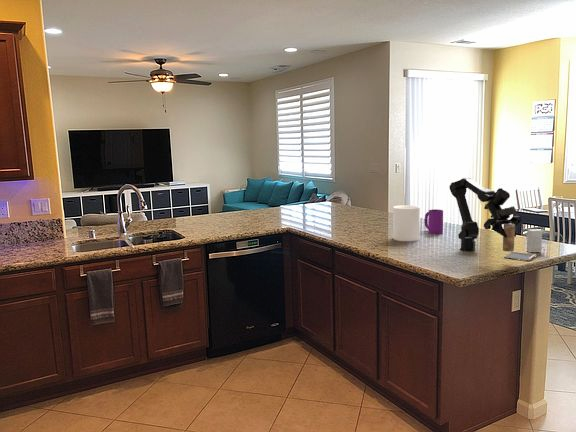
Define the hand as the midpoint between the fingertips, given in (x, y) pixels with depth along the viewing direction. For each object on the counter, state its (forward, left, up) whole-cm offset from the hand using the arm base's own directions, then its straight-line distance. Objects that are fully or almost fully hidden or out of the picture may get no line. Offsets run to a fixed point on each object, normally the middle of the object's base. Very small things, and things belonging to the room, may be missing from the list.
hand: (510, 236), depth 230 cm
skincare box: (+2, +31, -14) cm, 34 cm away
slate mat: (0, +15, -13) cm, 20 cm away
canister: (-70, +25, -14) cm, 75 cm away
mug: (-66, +53, -14) cm, 86 cm away
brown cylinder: (-1, +1, -7) cm, 7 cm away
